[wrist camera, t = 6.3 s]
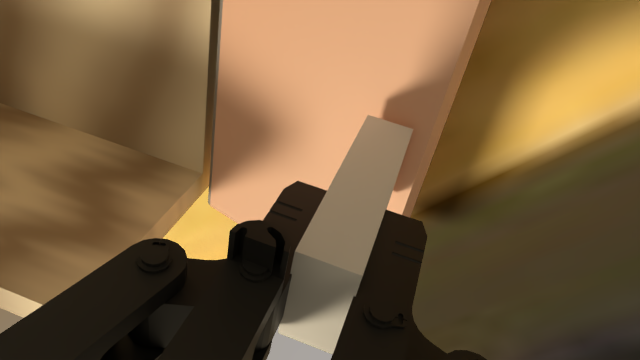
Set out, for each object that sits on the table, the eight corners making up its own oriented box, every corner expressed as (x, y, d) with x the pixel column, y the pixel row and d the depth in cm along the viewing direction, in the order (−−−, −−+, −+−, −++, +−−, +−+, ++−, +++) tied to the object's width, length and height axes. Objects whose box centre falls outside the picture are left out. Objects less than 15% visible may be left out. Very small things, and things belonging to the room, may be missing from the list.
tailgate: (201, 202, 23) (367, 309, 20) (219, -150, 15) (503, -67, 12) (220, 191, 24) (381, 291, 21) (246, -148, 16) (517, -70, 13)
